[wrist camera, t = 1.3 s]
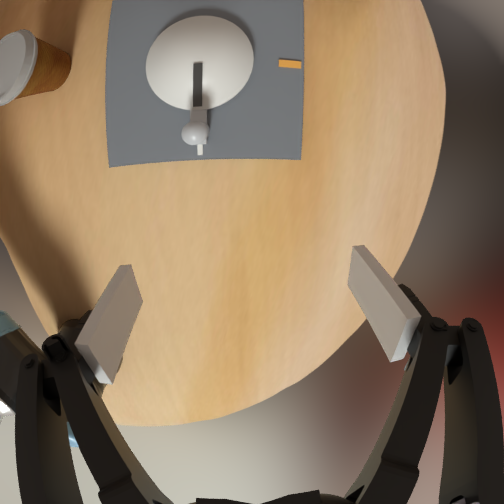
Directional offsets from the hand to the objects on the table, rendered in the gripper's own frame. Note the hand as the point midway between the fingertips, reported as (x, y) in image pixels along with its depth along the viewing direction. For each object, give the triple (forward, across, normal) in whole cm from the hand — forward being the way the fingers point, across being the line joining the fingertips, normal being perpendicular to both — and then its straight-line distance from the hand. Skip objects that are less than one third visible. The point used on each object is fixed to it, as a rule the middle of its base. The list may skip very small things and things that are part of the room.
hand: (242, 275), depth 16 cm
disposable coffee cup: (+22, -25, +22) cm, 39 cm away
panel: (+22, -3, +16) cm, 27 cm away
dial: (+19, -3, +14) cm, 24 cm away
